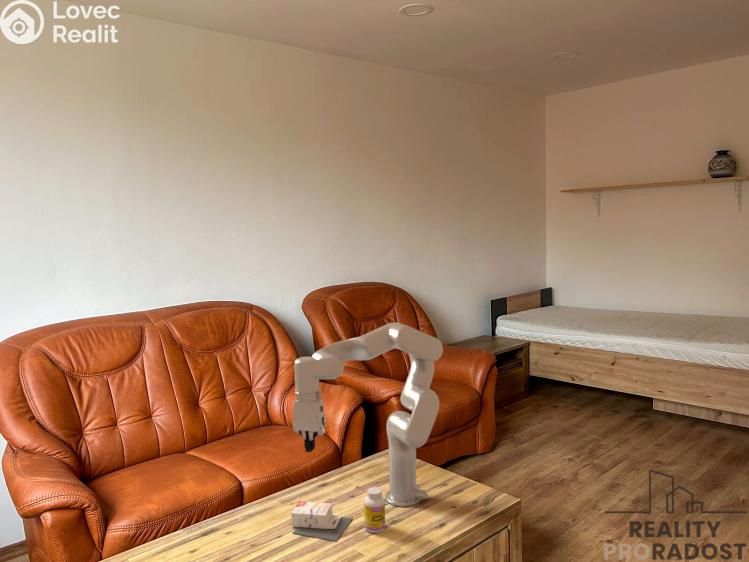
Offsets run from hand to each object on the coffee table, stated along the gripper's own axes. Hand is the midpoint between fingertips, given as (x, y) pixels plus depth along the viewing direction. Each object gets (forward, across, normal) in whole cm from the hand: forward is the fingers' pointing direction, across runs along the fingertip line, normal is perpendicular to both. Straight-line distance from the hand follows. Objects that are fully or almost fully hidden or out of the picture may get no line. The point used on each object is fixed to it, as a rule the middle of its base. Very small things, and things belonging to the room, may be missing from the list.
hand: (309, 450), depth 186 cm
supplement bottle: (+26, -20, -3) cm, 33 cm away
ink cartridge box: (+22, +6, 0) cm, 23 cm away
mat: (+25, -4, +1) cm, 26 cm away
